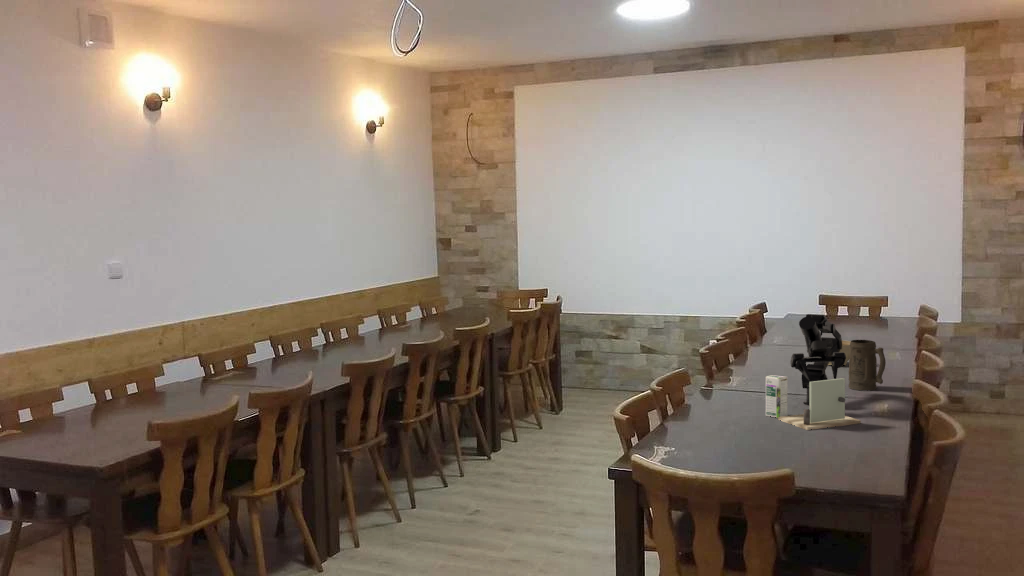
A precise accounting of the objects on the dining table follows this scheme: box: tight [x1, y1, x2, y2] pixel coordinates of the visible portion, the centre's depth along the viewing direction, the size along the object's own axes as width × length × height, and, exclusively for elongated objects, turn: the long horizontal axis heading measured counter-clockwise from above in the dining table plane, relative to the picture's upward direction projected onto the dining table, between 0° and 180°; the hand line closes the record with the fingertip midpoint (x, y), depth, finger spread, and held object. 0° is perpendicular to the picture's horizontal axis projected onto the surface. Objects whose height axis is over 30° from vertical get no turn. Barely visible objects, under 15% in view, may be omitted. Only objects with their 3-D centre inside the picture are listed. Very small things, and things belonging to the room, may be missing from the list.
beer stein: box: [848, 339, 886, 392], centre depth 341 cm, size 15×11×20 cm
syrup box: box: [765, 374, 788, 419], centre depth 301 cm, size 6×6×14 cm
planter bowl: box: [828, 339, 852, 366], centre depth 397 cm, size 16×16×11 cm
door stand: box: [777, 408, 862, 431], centre depth 291 cm, size 16×22×6 cm
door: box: [808, 377, 846, 423], centre depth 286 cm, size 3×14×14 cm, turn 109°
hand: (822, 379), depth 301 cm, fingers open, 9 cm apart
